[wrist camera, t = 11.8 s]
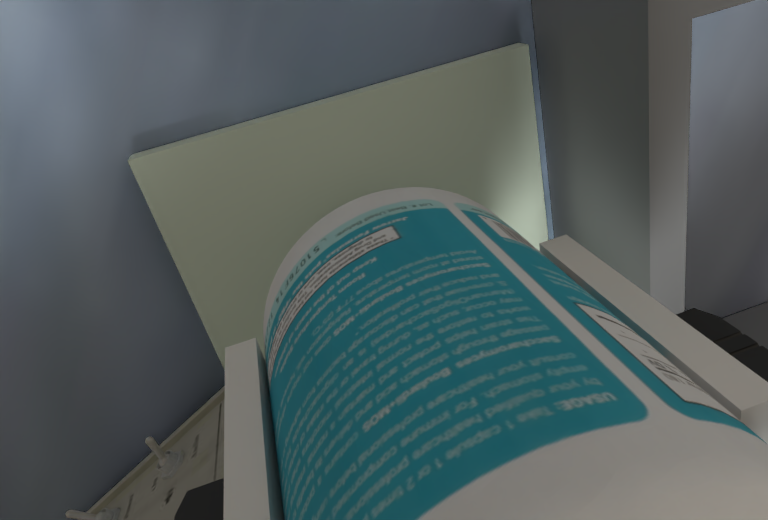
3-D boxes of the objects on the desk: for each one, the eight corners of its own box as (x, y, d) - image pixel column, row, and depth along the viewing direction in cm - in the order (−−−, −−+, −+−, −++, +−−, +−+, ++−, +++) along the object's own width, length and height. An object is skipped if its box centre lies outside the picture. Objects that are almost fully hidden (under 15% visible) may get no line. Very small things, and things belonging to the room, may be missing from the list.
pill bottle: (254, 415, 17) (313, 1495, 5) (270, 166, 14) (537, 1360, 2) (489, 405, 19) (943, 1139, 7) (547, 187, 16) (1527, 807, 4)
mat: (131, 154, 15) (127, 160, 14) (518, 42, 16) (528, 44, 16) (266, 449, 20) (266, 462, 20) (552, 348, 21) (560, 357, 21)
